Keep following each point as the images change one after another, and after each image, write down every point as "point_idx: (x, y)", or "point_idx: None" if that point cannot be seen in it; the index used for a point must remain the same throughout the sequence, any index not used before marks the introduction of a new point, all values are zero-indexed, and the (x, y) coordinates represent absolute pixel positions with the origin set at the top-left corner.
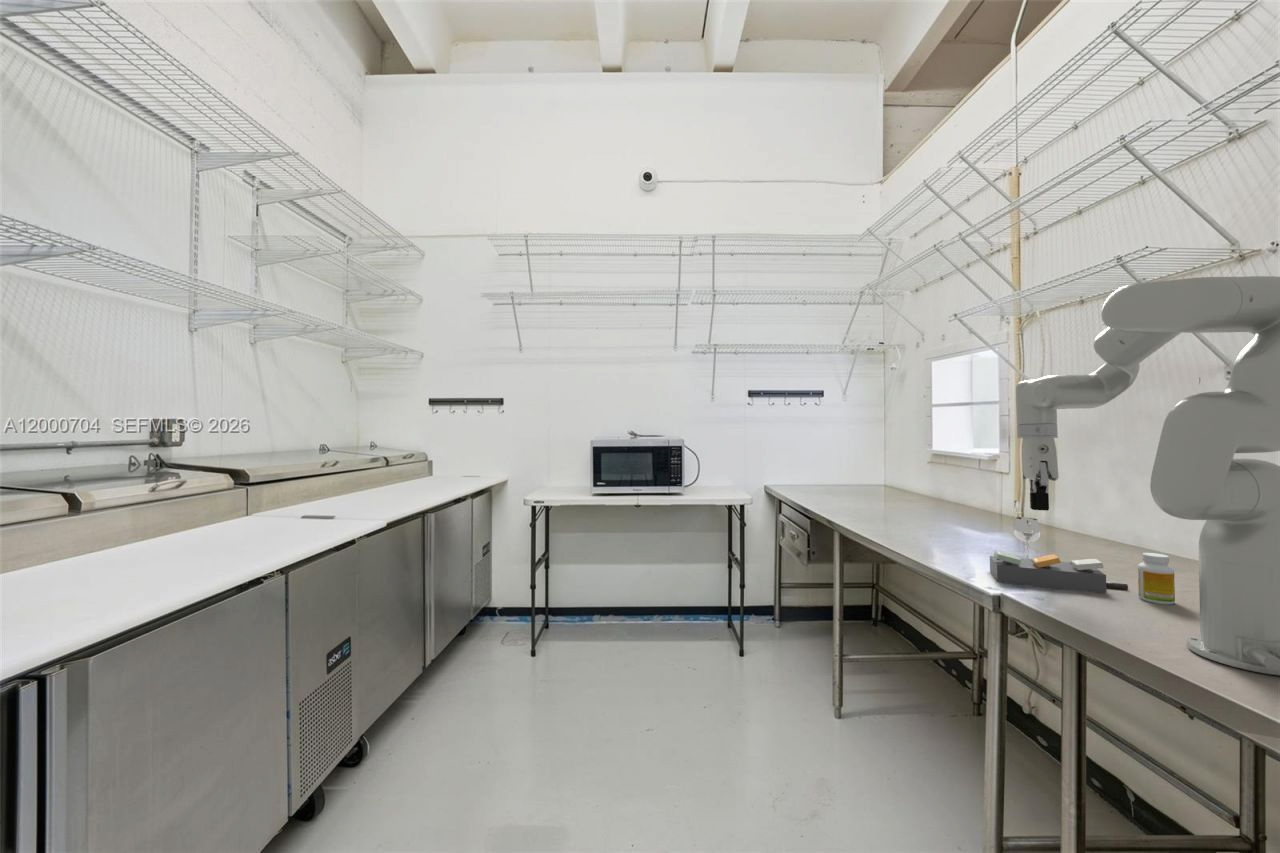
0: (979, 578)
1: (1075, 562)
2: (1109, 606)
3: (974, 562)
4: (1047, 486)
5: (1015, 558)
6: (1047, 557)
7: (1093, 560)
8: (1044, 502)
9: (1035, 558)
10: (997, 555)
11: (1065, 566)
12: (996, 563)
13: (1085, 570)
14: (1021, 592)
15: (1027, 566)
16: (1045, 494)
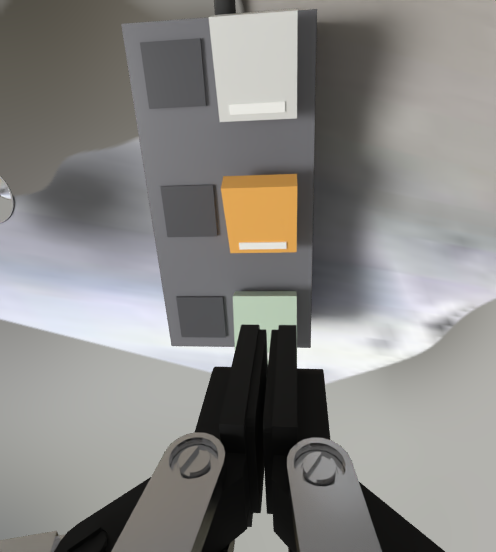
0: None
1: (258, 113)
2: (491, 60)
3: (89, 340)
4: (375, 532)
5: (292, 312)
6: (256, 213)
7: (244, 36)
8: (324, 393)
9: (240, 244)
10: None
11: (223, 138)
12: None
13: None
14: (402, 278)
15: (287, 266)
16: (297, 437)
